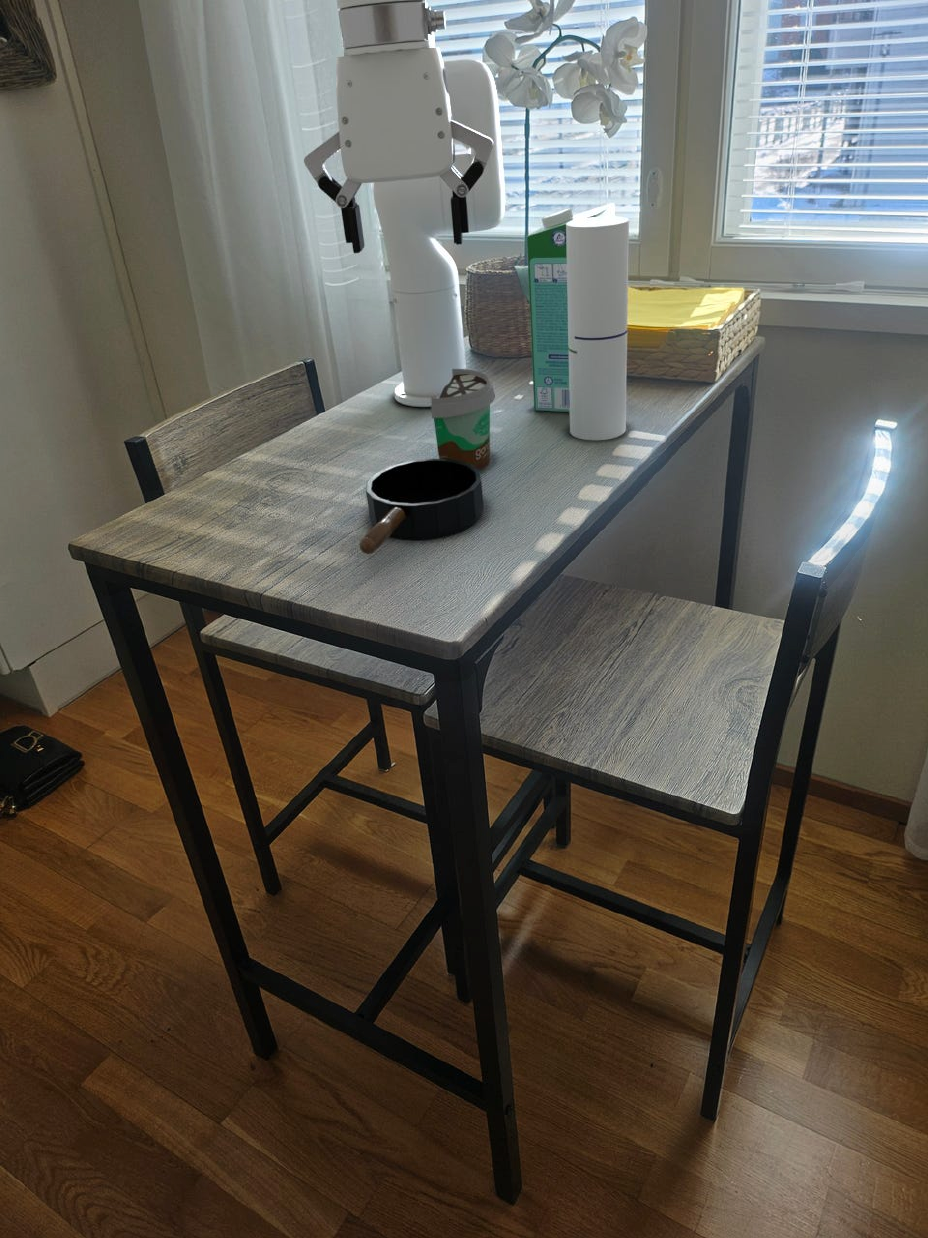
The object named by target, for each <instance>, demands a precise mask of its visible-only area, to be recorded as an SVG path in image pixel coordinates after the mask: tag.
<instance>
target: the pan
mask: <svg viewBox="0 0 928 1238" xmlns="http://www.w3.org/2000/svg"><path fill="white" fill-rule="evenodd" d="M365 495H366V503H367V508H368V515H369V519H370V522H371V525H372V528H371V529H370V530H369V531H368V532H367V533H366V534H365V535H364V536H363V537H362V538H361V539H360V540H359V550H360V551H361V552H362V553H363V554H366V555H371V554H373V553H375V552H376V551H377V550H378V549H379V547H381V545H383V544H384V542H385V541H386V540H387V539H389V538H393V539H396V540H404V541H429V540H436V539H442V538H446V537H450V536H454V535H456V534H457V535H458V534H459V533H462V532H464V531H466V530H468V529H470V528H472V527H473V526H474V525H476V524H477V523H478V522H479V521H480V520H481V519H482V517H483V515H484V511H485V510H484V509H485V508H484V496H483V495H484V493H483V483H482V473H481V470H478V469H476V468H475V467H474V466H473V465H471V464H468V463H465V462H461V461H458V460H451V459H439V458H426V459H416V460H415V459H414V460H410V461H405V462H401V463H397V464H393V465H391V466H389V467H385V468H384V469H381V470H380V471H378V472H376V473H375V474H374V475H373V476H372V477H371V478H369V479H368V480H367V482H366V486H365Z"/></svg>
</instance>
